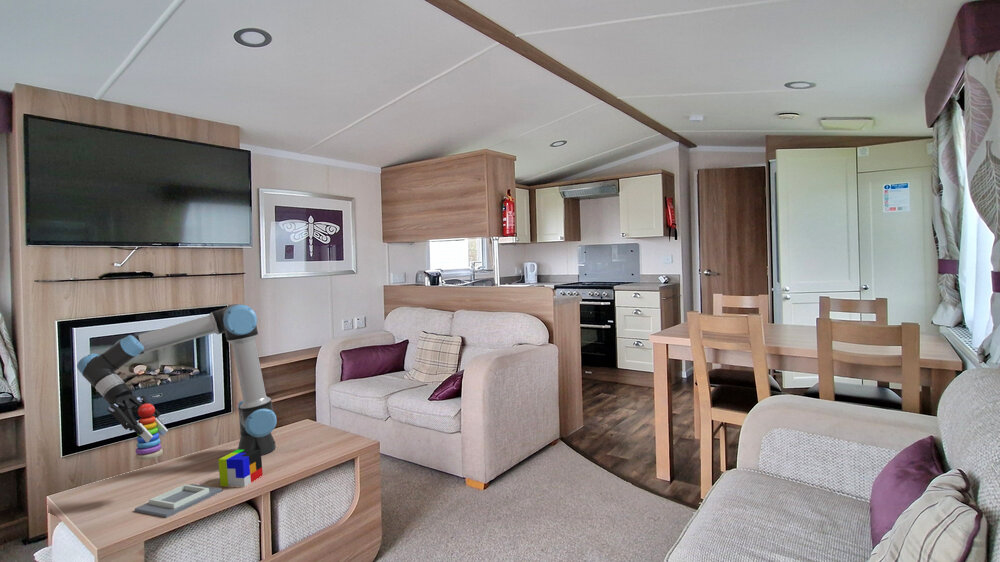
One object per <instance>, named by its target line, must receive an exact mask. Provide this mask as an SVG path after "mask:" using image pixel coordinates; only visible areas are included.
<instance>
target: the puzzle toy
mask: <svg viewBox="0 0 1000 562" xmlns="http://www.w3.org/2000/svg"><path fill="white" fill-rule="evenodd" d="M217 462H218V470H219V471H218V472H219V483H220V487H221V486H235V487H234V488H245V486H246V485H247V486H249V485H250V484H252V483H253V482H252V481H254V480H255V481H257V480H258V479H260V478H261V477H260V476H262V475H264V473H263V463H262V455H261V450H237V449H236V450H234V451H232V452H230V453H228V454H226V455H224V456H222V457H220V458H218V461H217ZM259 477H260V478H259ZM262 477H263V476H262ZM257 478H258V479H257ZM256 479H257V480H256ZM255 481H254V482H255ZM251 482H252V483H251ZM249 483H250V484H249ZM248 484H249V485H248ZM236 486H238V487H236ZM242 486H243V487H242ZM247 486H246V487H247Z"/></svg>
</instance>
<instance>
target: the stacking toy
mask: <svg viewBox="0 0 1000 562" xmlns="http://www.w3.org/2000/svg"><path fill="white" fill-rule="evenodd" d="M155 409H156V408H155V406H154V404H151V403H150V404H148V403H147V404H143V405H141V406H140V407H139V408H138V413H137V415H138V416H139V419H138V420H137V423H138V424H139V423H141V424H142V425H143V426H144V427H145V428H146V429H147V430H148V431H149V432H150V434H151V435H152V436H153V437H152V438H151V440H150V441H149V442H146V441H145V440H144V439H143V438H142V437H141V436H140V435H138V434H137V433H136V434H137V438H136V441H137V443H136V449H135V456H134V457H135V459H136V460H137V461H149V460H153V459H156V458H158V457H160V456H162V455H163V452H164V451H163V449H162V444H161V438H160V434H159V433H158V428H156V423H155V422H154V421H155V420H156V418H155V417H154V416H152V415H153V414H154V412H155Z"/></svg>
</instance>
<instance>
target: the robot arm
mask: <svg viewBox="0 0 1000 562" xmlns="http://www.w3.org/2000/svg"><path fill="white" fill-rule="evenodd" d="M257 317H258V316H257V314H256V311H254V310H253V308H252V307H250V306H248V305H245V304H241V303H239V304H238V303H237V304H234V303H233V304H231V305H228V306H226V307H224V308H221V309H218V310H215V311H212V312H210V313H209V315H205V316H202V317H198V318H196V319H191V320H187V321H184V322H181V323H177V324H173V325H169V326H166V327H162V328H159V329H155V330H152V331H148V332H143V333H141V334H137V335H132V334H129V335H127V336H126V337H123V338H121V339H118V340H116V342H115V343H114V345H112V346H111V347H110V348H109V349H107V350H105V351H104V352H103V353H101V354H98V353H93V352H92V353H90V354H88V355H84V357H82V358H81V359H80V360H79V361H78V362H77V364H76V367H77V370H78V372H79V373H80V374H81V376H82V377H84V378H85V380H86V381H87V382H88V383H89V384H90V385H91V386H92V387H93V388H94V389H96V391H97V392H98V393H99V395H101V397H103V398H104V400H105V401H106V402H107V403H108V404H109V405H110V406H109V407H108V408H107V410H106V411H107V412H108V413H109V414H111V415H112V416H114V418H115V419H116V420H117V422H118V423H119V424H120V425H121V426H122V427H123V429H124V430H129V432H130V431H134V432H135V433H136V434H138V435H140V436H141V437H142V438H143V439H144V440H145V441H146V442H149V441H150V440H151V438H152V437H153V436H152V435H151V434H150V432H149V431H148V430H147V429H146V428H145V427H144V426H143V425H142V424H141V423H138V420H137V419H136V417H135V415H134V413H137V414H138V408H139V407H140V406H141V405H143V404H147V403H148V404H151V403H150V402H149V401H148V399H146V398H147V397H146V396H145V395H141V396H140V397H139V396H138V397H137V396H135V394H133V390H132V389H131V388H130V386H128V384H127V383H125V381H124V380H123V379H122V378H121V377H120V376H119V375H118V374H117V373H116V371H117V370H119V369H120V368H121V367H123V366H125V365H126V364H127V363H129V362H130V361H131V360H133V359H134V358H136V357H138V356H139V355H143V354H145V353H146V354H147V353H149V352H153V351H157V350H160V349H163V348H166V347H171V346H174V345H179V344H181V343H184V342H189V341H192V340H195V339H199V338H202V337H205V336H206V337H207V336H209V335H211V334H212V335H213V334H216V335H220V334H225V338H226V339H225V340H226V341H227V342H228V343H229V344H231V345H232V352H233V355H234V361H235V366H236V372H237V376H238V380H239V386H240V391H241V396H242V400H240V401H239V402H237V403H238V404H237V406H238V407H237V410H238V419H239V431H240V432H239V433H240V438H239V442H238V447H237V449H236V450H261V456H264V455H267V454H270V453H271V452H274V451H275V450H276V449H275V448H277V446H276V445H277V444H276V441H275V439H274V437H273V435H272V432H273V431H274V429H275V428H276V427H277V423H278V422H277V415H276V413H275V412H274V408H273V403H272V398H271V397H269V396H267V394H266V388H265V384H264V378H263V372H262V368H261V364H260V358H259V354H258V353H259V352H258V348H257V343H256V339H257V337H258V336H259V332H258V331H259V330H258V327H257V323H258V318H257ZM133 412H134V413H133ZM152 416H154V417H155V418H156V420H155V421H154V422H155V423H156V428H158V432H157V433H158V434H159V436H161V437H164V436H165V435H166V434H167V433H168V432H169V430H168V429H167V427H166V426H165V425H164V423H163V422H162V421H161V420H160V418H159V417H160V416H161V412H160V411H159V410H157V409H156V408H155V412H154V414H153V415H152ZM138 435H137V436H138ZM273 450H274V451H273Z"/></svg>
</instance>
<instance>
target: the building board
mask: <svg viewBox="0 0 1000 562" xmlns="http://www.w3.org/2000/svg"><path fill="white" fill-rule="evenodd" d="M222 492H223V488H220V487H215V486H207V485H203V484H202V485H201V484H197V483H195V484H194V483H190V484H185V483H183V484H182V485H180V486H178V487H175V488H173V489H170V490H169V491H166V492H164V493H161V494H159V495H157V496H154V497H152V498H149V499H148V502H147V503H143V504H142V505H139V506H137V507H135V508H134V512H137V513H141V514H146V515H151V516H156V517H157V516H158V517H160V518H166V519H168V518H169V517H171V516H173V515H175V514H178V513H179V512H182V511H185V510H186V509H188V508H190V507H192V505H193V506H194V505H196V504H199V503H201V502H202V501H205V500H207V499H210V498H212V497H214V496H215V494H216V495H217V493H218V494H219V493H222ZM213 495H214V496H213ZM211 496H212V497H211Z"/></svg>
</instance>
